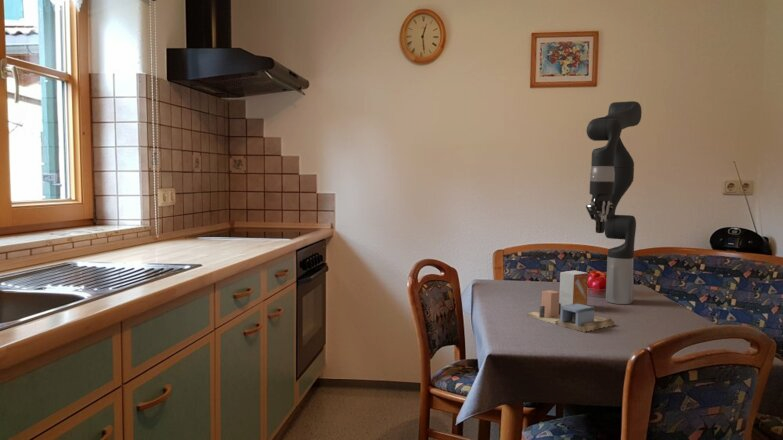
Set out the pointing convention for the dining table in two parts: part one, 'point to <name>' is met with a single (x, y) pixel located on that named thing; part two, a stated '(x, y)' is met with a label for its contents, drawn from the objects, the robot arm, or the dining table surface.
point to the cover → (577, 313)
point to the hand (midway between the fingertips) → (599, 232)
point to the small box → (573, 288)
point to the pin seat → (541, 316)
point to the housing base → (596, 324)
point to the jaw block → (550, 303)
